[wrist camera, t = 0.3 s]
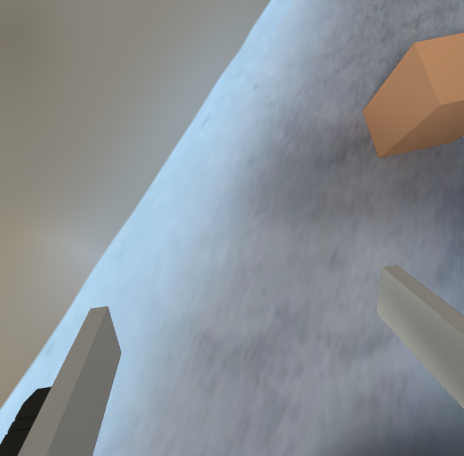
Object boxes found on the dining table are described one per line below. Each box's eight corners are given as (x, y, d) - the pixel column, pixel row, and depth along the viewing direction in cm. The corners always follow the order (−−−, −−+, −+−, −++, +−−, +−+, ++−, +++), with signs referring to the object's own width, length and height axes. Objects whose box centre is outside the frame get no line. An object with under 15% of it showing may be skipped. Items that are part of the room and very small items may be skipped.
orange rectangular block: (453, 141, 35) (542, 83, 25) (379, 158, 34) (440, 104, 24) (434, 96, 36) (512, 23, 26) (362, 111, 35) (414, 42, 25)
